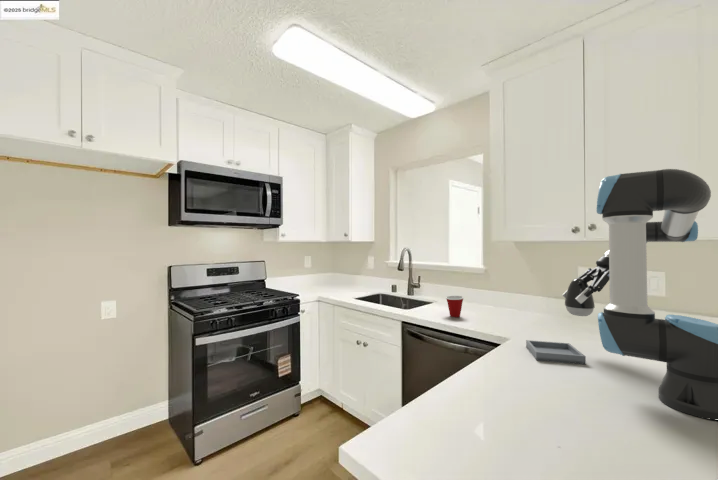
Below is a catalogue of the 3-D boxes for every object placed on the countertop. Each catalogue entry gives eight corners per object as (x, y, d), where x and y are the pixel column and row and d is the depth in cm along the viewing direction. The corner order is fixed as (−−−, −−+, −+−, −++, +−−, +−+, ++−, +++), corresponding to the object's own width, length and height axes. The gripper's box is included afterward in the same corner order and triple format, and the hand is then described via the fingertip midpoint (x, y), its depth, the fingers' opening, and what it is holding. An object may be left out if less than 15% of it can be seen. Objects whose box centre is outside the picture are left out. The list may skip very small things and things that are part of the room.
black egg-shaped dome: (566, 316, 129) (565, 278, 130) (563, 311, 138) (563, 276, 139) (597, 318, 124) (596, 279, 125) (592, 314, 134) (591, 277, 134)
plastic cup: (441, 315, 197) (441, 296, 197) (455, 313, 201) (455, 294, 201) (453, 319, 187) (453, 298, 187) (467, 317, 191) (467, 297, 192)
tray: (585, 364, 115) (585, 356, 115) (536, 360, 119) (536, 352, 119) (569, 350, 130) (569, 343, 130) (526, 347, 134) (526, 340, 134)
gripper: (639, 269, 119) (594, 310, 121) (600, 266, 142) (563, 301, 143) (623, 255, 120) (579, 296, 121) (587, 254, 142) (551, 289, 144)
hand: (571, 299), depth 132 cm, fingers closed on black egg-shaped dome, 10 cm apart
